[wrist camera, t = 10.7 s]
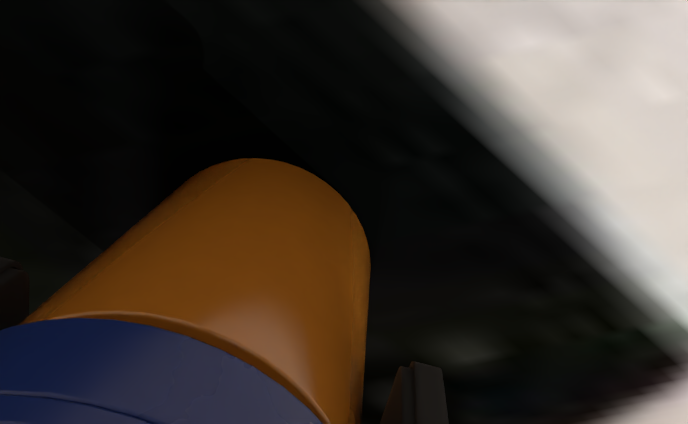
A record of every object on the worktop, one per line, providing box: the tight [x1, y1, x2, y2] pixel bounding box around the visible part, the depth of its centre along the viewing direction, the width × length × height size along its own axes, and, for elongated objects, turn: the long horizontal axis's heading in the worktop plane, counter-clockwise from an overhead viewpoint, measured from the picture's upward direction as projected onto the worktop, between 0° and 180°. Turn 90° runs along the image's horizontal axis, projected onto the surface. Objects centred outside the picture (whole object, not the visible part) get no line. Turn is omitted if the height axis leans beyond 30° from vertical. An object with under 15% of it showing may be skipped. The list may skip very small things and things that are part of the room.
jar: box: [19, 158, 371, 424], centre depth 11 cm, size 6×6×10 cm
